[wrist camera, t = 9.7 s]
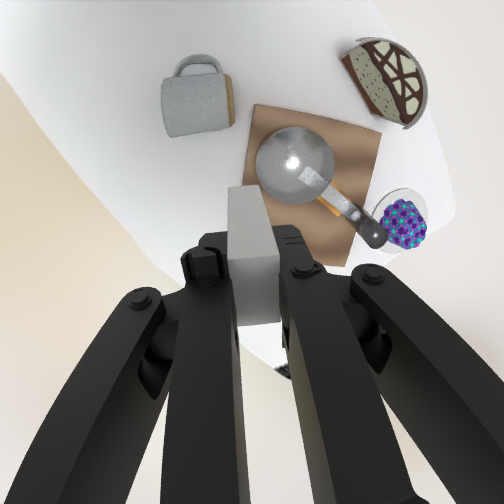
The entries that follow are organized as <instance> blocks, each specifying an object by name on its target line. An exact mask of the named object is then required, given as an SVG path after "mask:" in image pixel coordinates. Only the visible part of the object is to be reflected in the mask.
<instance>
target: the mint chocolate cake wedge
mask: <svg viewBox="0 0 504 504" xmlns="http://www.w3.org/2000/svg"><path fill="white" fill-rule="evenodd" d="M356 41H362V43H361V44H359V45H358V46H356V47H355V48H353V49H352V50H350V51H349V52H347V53H346V54H345V55H343V56H342V57H340V58H339V61H340V62H341V64H342V65H343V67H344V69H345V70H346V72H347V74H348V75H349V77H350V79H351V80H352V82H353V84H354V85H355V87H356V89H357V91H358V92H359V94H360V96H361V98H362V100H363V101H364V103H365V105H366V107H367V109H368V111H369V113H370V114H371V115H374V116H377V117H380V118H383V119H386V120H389V121H392V122H395V123H398V124H401V125H403V126H405V127H404V128H403V129H409V128H411V127H412V126H413V125H415V124H416V123H417V122H418V121H419V119H420V118H421V117H422V115H423V113H424V111H425V108H426V105H427V99H428V87H427V81H426V77H425V74H424V72H423V69H422V67H421V66H420V64H419V62H418V61H417V60H416V58H415V57H414V56H413V55H412V54H411V53H410V52H409V51H408V50H407V49H406V48H404V47H403V46H401V45H399V44H398V43H396V42H393V41H391V40H388V39H384V38H375V37H367V38H361V39H358V40H356Z"/></svg>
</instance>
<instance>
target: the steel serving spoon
mask: <svg viewBox="0 0 504 504" xmlns="http://www.w3.org/2000/svg"><path fill="white" fill-rule="evenodd" d="M255 166H256V172H257V176H258V178H259V181H260V183H261V185H262V187H263V188H264V190H265V191H266V192H267V193H268V194H269V195H270V196H271V197H273V198H274V199H276V200H278V201H280V202H283V203H286V204H303V203H307V202H310V201H312V200H314V199H316V198H317V197H319V196H322V197H323V198H324V199H325V200H327V201H328V202H329V203H330V204H331V205H333V206H334V207H335V208H336V209H337V210H339V211H340V212H341V213H342V214H343V215H345V218H346V220H347V221H348V222H349V223H350V225H351V226H352V227H353V228H354V229H355V230H356V231H357V232H358V234H359V235H360V236H361V237H362V238H363V239H364V241H365V242H366V243H367V244H368V245H369V246H370V247H371V248H373V249H378V248H381V247H382V246H384V245H385V243H386V242H387V239H388V232H387V230H386V229H385V228H384V227H383V226H382V225H381V224H379V223H378V222H377V221H376V220H375V219H374V218H373V217H372V216H371V215H370V214H369V213H368V212H366V211H365V210H364V209H363V208H362V207H361V206H359V205H356V204H355V205H354V204H353V203H351V202H350V201H349V200H348V199H347V198H346V197H345V196H344V195H342V194H341V193H340V192H339V191H338V190H337V189H335V188H334V187H333V186H332V185H331V184H330V182H331V180H332V178H333V174H334V168H335V162H334V156H333V153H332V150H331V148H330V147H329V145H328V143H327V142H326V141H325V140H324V139H323V138H322V137H321V136H320V135H318V134H317V133H315V132H313V131H311V130H308V129H305V128H301V127H285V128H282V129H279V130H277V131H275V132H273V133H271V134H270V135H269V136H268V137H267V138H266V139H265V140H264V141H263V142H262V144H261V145H260V147H259V149H258V152H257V155H256V162H255Z"/></svg>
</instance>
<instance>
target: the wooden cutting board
mask: <svg viewBox="0 0 504 504" xmlns="http://www.w3.org/2000/svg"><path fill="white" fill-rule="evenodd" d="M285 127H301V128H305V129H308V130H311V131H313V132H315V133H317V134H318V135H320V136H321V137H322V138H323V139H324V140H325V141H326V142H327V143H328V145H329V147H330V148H331V150H332V153H333V156H334V162H335V168H334V174H333V178H332V180H331V182H330V184H331V185H332V186H333V187H334V188H335V189H337V190H338V191H339V192H340V193H341V194H342V195H344V196H345V197H346V198H347V199H348V200H349V201H350V202H351V203H353V204H354V205H355V204H356V205H359V206H361V207H362V208H363V206H364V203H365V199H366V196H367V192H368V188H369V184H370V181H371V177H372V173H373V169H374V165H375V161H376V157H377V152H378V148H379V144H380V139H381V135H382V133H379V132H376V131H373V130H370V129H366V128H363V127H359V126H356V125H352V124H348V123H345V122H341V121H337V120H333V119H329V118H325V117H320V116H316V115H312V114H307V113H302V112H297V111H292V110H287V109H281V108H276V107H270V106H263V105H257V104H255V106H254V112H253V118H252V125H251V131H250V138H249V144H248V151H247V157H246V164H245V171H244V178H243V184H242V186H249V185H259V188H260V191H261V194H262V197H263V201H264V204H265V207H266V211H267V214H268V217H269V221H270V224H271V226H278V225H289V224H292V225H294V226H295V227H296V228H298V229H299V230H300V232H301V234H302V236H303V238H304V240H305V243H306V244H307V247H308V249H309V251H310V253H311V255H312V257H313V260H315V261H317V262H319V263H321V264H322V265H327V266H338V267H345V264H346V261H347V258H348V255H349V252H350V249H351V246H352V243H353V239H354V236H355V233H356V230H355V229H354V228H353V227H352V226H351V225H350V223H349V222H348V221H347V220H346V218H345V215H343V214H342V213H341V212H340V211H339V210H337V209H336V208H335V207H334V206H333V205H331V204H330V203H329V202H328V201H327V200H325V199H324V198H323V197H322V196H319V197H317V198H316V199H314V200H312V201H310V202H307V203H303V204H286V203H283V202H280V201H278V200H276V199H274V198H273V197H271V196H270V195H269V194H268V193H267V192H266V191H265V190H264V188H263V187H262V185H261V183H260V181H259V178H258V176H257V172H256V166H255V162H256V155H257V152H258V149H259V147H260V145H261V144H262V142H263V141H264V140H265V139H266V138H267V137H268V136H269V135H270V134H271V133H273V132H275V131H277V130H279V129H282V128H285Z"/></svg>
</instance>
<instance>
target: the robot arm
mask: <svg viewBox="0 0 504 504" xmlns="http://www.w3.org/2000/svg"><path fill="white" fill-rule="evenodd" d="M180 260H181V264H182V268H183V272H184V277H185V281H186V284H185V287H184V288H183V289H181V290H179V291H177V292H174V293H171V294H168V295H165V296H161V293H160V292H159V291H158V290H157V289H156V288H152V287H141V288H137V289H134V290H133V291H131V292H129V293H127V294H126V296H124V297H123V298H122V300H121V301H120V302H119V304H118V305H117V307H116V308H115V309H114V311H113V312H112V314H111V315H110V316H109V318H108V319H107V321H106V322H105V324H104V325H103V326H102V328H101V329H100V331H99V332H98V334H97V335H96V337H95V338H94V340H93V341H92V343H91V344H90V346H89V347H88V349H87V350H86V352H85V353H84V355H83V356H82V358H81V359H80V361H79V362H78V364H77V366H76V367H75V369H74V370H73V372H72V373H71V375H70V377H69V378H68V380H67V382H66V383H65V385H64V386H63V388H62V390H61V391H60V394H59V395H58V397H57V398H56V400H55V402H54V403H53V405H52V407H51V409H50V410H49V412H48V414H47V416H46V417H45V419H44V421H43V423H42V425H41V426H40V428H39V430H38V432H37V434H36V436H35V438H34V440H33V441H32V443H31V445H30V447H29V450H28V451H27V453H26V455H25V457H24V460H23V461H22V464H21V466H20V468H19V470H18V472H17V474H16V477H15V479H14V481H13V483H12V486H11V488H10V490H9V492H8V495H7V497H6V500H5V502H4V504H125V503H126V500H127V498H128V495H129V492H130V489H131V487H132V484H133V481H134V479H135V476H136V473H137V471H138V468H139V466H140V463H141V460H142V458H143V455H144V453H145V450H146V448H147V445H148V442H149V440H150V437H151V434H152V432H153V429H154V427H155V424H156V422H157V420H158V417H159V414H160V412H161V410H162V407H163V405H164V402H165V400H166V397H167V395H168V392H169V397H168V405H167V415H166V424H165V435H164V447H163V459H162V474H161V492H160V504H251V502H250V491H249V478H248V466H247V454H246V440H245V427H244V413H243V398H242V383H241V367H240V352H239V336H238V330H237V326H248V325H258V324H267V323H276V322H281V319H282V348H285V349H286V354H287V360H288V365H289V370H290V375H291V380H292V385H293V390H294V396H295V401H296V406H297V411H298V416H299V422H300V427H301V433H302V438H303V443H304V449H305V454H306V460H307V465H308V471H309V476H310V482H311V488H312V493H313V499H314V504H429V502H428V501H426V500H425V499H423V498H421V497H419V496H418V495H417V494H416V493H415V491H414V490H413V487H412V484H411V481H410V478H409V475H408V471H407V468H406V465H405V462H404V459H403V456H402V453H401V450H400V447H399V444H398V441H397V439H396V436H395V433H394V430H393V428H392V425H391V422H390V419H389V416H388V414H387V411H386V408H385V406H384V403H383V401H382V398H381V395H382V397H383V398H384V400H385V401H386V403H387V404H388V405H389V407H390V408H391V410H392V411H393V412H394V414H395V415H396V416H397V418H398V419H399V421H400V422H401V423H402V425H403V426H404V428H405V429H406V431H407V432H408V434H409V435H410V436H411V438H412V439H413V441H414V442H415V444H416V445H417V446H418V448H419V449H420V451H421V452H422V454H423V455H424V457H425V458H426V459H427V461H428V462H429V464H430V465H431V467H432V468H433V470H434V471H435V473H436V474H437V475H438V477H439V478H440V480H441V481H442V483H443V484H444V486H445V487H446V489H447V490H448V492H449V493H450V495H451V496H452V498H453V499H454V501H455V502H456V504H504V382H503V381H502V380H501V379H500V378H499V377H498V375H497V374H496V373H495V372H494V371H493V370H492V369H491V368H490V367H489V366H488V365H487V363H486V362H485V361H484V360H483V359H482V358H481V357H480V356H479V355H478V354H477V353H476V352H475V351H474V350H473V349H472V348H471V347H470V346H469V345H468V344H467V343H466V342H465V341H464V340H463V339H462V338H461V337H460V336H459V335H458V334H457V333H456V332H455V331H454V330H453V329H452V328H451V327H450V326H449V325H448V324H447V323H446V322H445V321H444V320H443V319H442V318H441V317H440V316H439V315H438V314H437V313H436V312H435V311H434V310H433V309H431V308H430V307H429V306H428V305H427V304H426V303H425V302H424V301H423V300H422V299H420V298H419V297H418V296H417V295H416V294H415V293H414V292H413V291H412V290H411V289H409V288H408V287H407V286H406V285H405V284H404V283H403V282H402V281H401V280H399V279H398V278H397V277H396V276H395V275H394V274H392V273H391V272H390V271H389V270H387V269H386V268H384V267H383V266H379V265H376V264H361V265H359V266H357V267H355V268H354V269H353V271H352V274H351V276H342V275H334V274H330V273H327V271H326V269H325V267H324V266H323V265H322V264H321V263H319V262H317V261H315V260H313V257H312V255H311V253H310V251H309V249H308V247H307V244H306V243H305V240H304V238H303V236H302V234H301V232H300V230H299V229H298V228H296V227H295V226H294V225H292V224H289V225H278V226H271V224H270V221H269V217H268V214H267V211H266V207H265V204H264V201H263V197H262V194H261V191H260V188H259V185H249V186H239V187H229V188H228V231H225V232H215V233H205V234H204V235H203V236H202V238H201V239H200V240H199V243H198V246H196V247H194V248H191V249H189V250H188V251H186V252H185V253H184V254H183V255H182V257H181V258H180ZM380 394H381V395H380Z"/></svg>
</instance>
